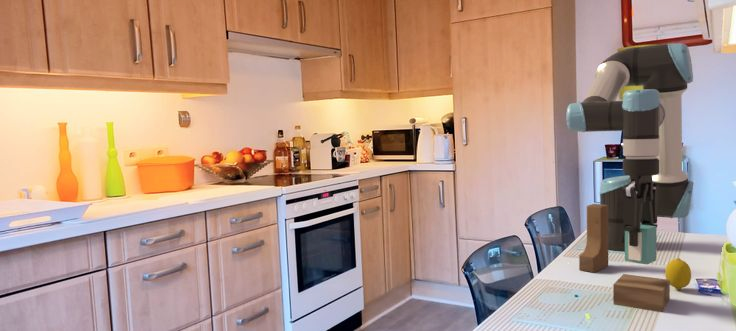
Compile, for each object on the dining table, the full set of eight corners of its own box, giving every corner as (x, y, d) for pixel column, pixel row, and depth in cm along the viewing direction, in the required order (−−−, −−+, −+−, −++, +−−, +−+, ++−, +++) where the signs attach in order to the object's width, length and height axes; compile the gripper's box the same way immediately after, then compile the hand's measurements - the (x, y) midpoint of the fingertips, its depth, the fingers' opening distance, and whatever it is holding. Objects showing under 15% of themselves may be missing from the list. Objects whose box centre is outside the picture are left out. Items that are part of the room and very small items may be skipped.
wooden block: (594, 273, 150) (593, 209, 149) (578, 270, 154) (578, 207, 152) (608, 266, 156) (608, 204, 155) (593, 264, 160) (593, 203, 158)
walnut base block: (623, 293, 133) (623, 273, 133) (669, 300, 127) (669, 279, 127) (613, 305, 125) (613, 284, 125) (662, 313, 119) (662, 291, 119)
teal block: (634, 256, 129) (634, 223, 129) (656, 260, 126) (656, 226, 125) (624, 260, 126) (624, 226, 126) (647, 264, 122) (647, 229, 122)
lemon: (660, 288, 135) (660, 257, 134) (676, 285, 137) (676, 254, 136) (679, 294, 130) (680, 262, 129) (696, 291, 132) (696, 259, 131)
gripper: (641, 154, 133) (640, 248, 134) (605, 159, 121) (606, 262, 123) (674, 155, 127) (673, 253, 129) (640, 160, 115) (640, 267, 117)
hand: (640, 257), depth 126 cm, fingers closed on teal block, 5 cm apart
